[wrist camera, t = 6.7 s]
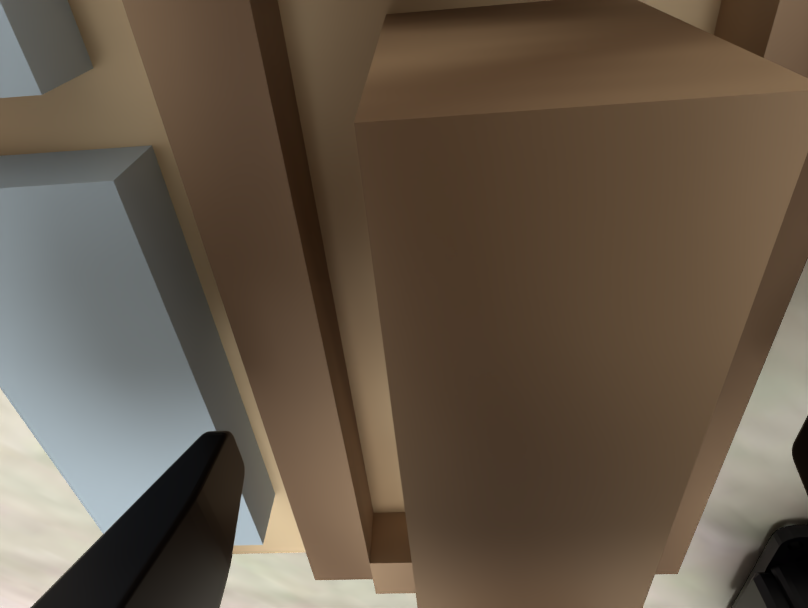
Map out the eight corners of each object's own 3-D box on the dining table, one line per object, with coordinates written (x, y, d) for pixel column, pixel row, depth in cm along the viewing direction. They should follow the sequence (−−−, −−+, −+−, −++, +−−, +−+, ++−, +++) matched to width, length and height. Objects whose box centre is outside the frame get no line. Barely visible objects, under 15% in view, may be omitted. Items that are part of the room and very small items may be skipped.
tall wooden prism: (625, -7, 8) (962, 148, 3) (556, 488, 15) (625, 783, 10) (385, 13, 8) (333, 189, 3) (427, 491, 15) (431, 781, 10)
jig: (938, -343, 7) (1179, -455, 5) (658, 509, 17) (692, 595, 15) (-249, -205, 8) (-503, -245, 6) (166, 521, 18) (133, 604, 16)
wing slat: (151, 145, 10) (112, 180, 8) (275, 494, 15) (262, 544, 14) (-66, 160, 10) (-135, 197, 9) (136, 497, 16) (113, 548, 14)
